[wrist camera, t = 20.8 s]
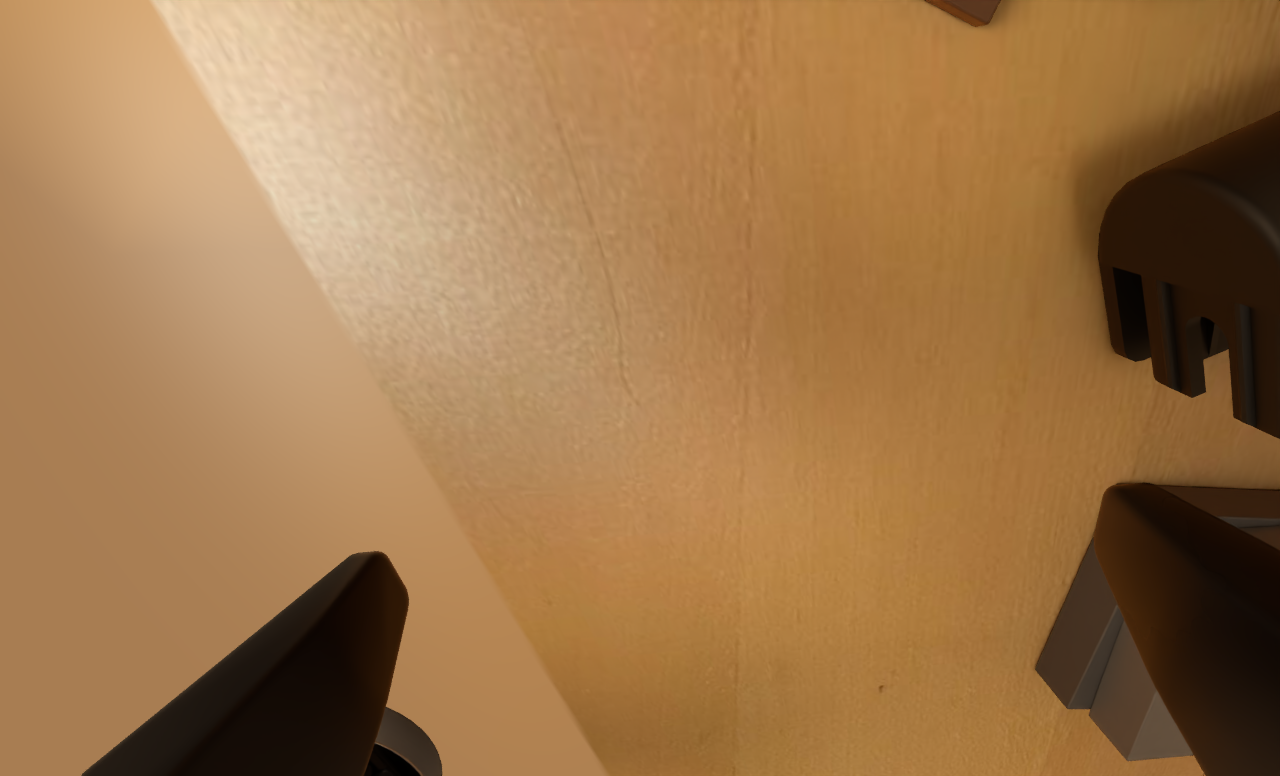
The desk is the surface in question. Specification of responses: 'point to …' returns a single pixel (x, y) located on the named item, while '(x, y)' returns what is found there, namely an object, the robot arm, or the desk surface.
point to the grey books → (1106, 653)
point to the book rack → (969, 9)
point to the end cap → (1202, 269)
